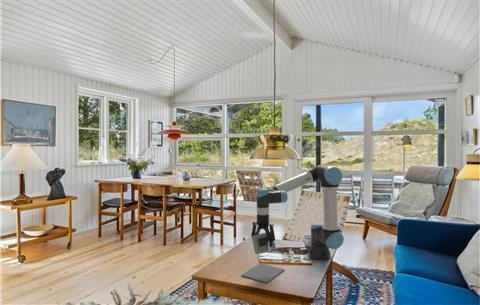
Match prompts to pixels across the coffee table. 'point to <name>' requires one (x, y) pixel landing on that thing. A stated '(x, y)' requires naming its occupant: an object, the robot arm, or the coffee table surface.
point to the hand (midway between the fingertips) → (263, 250)
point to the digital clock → (261, 243)
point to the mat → (263, 273)
